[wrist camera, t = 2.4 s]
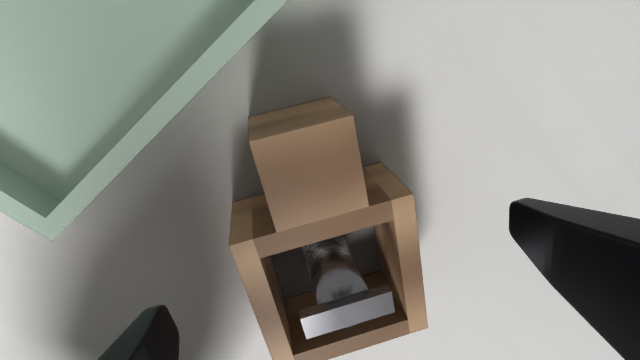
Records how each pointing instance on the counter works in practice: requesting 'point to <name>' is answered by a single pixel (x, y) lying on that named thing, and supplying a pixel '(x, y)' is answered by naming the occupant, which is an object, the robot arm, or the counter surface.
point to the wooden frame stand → (323, 226)
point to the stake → (339, 290)
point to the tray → (100, 90)
